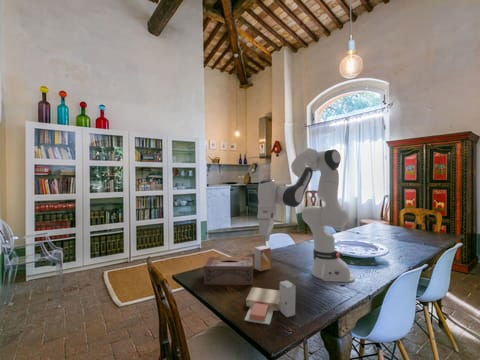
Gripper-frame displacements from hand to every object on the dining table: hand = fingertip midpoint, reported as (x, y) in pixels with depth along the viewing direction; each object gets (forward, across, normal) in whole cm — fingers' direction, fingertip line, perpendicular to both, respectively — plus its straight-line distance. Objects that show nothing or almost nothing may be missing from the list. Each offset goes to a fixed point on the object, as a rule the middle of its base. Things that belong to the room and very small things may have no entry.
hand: (267, 240), depth 116 cm
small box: (+25, -28, -8) cm, 39 cm away
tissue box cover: (+26, -9, -23) cm, 36 cm away
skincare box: (+25, +16, +11) cm, 32 cm away
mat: (+25, +21, 0) cm, 33 cm away
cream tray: (+25, +10, 0) cm, 27 cm away
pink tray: (+25, +21, 0) cm, 32 cm away
